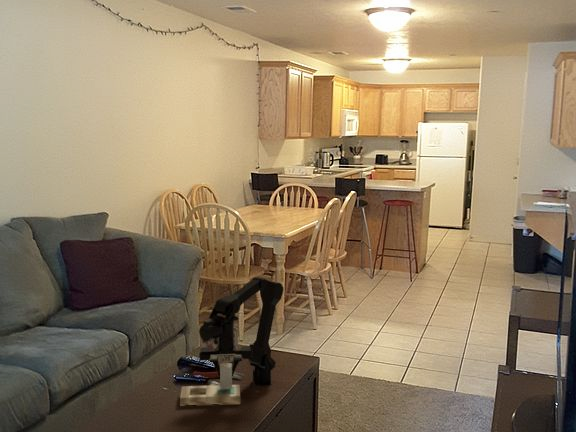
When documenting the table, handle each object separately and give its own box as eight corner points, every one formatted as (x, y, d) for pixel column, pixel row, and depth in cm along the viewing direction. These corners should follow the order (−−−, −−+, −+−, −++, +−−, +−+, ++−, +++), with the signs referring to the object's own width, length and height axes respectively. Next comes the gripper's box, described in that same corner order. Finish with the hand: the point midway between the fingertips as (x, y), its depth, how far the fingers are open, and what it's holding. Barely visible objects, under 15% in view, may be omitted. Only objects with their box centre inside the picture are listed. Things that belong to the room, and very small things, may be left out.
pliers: (238, 385, 235) (238, 378, 235) (191, 378, 241) (191, 371, 241) (249, 374, 246) (249, 368, 246) (204, 368, 252) (204, 362, 252)
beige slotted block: (239, 392, 227) (239, 384, 227) (240, 404, 217) (240, 395, 217) (182, 394, 225) (182, 385, 225) (180, 406, 215) (180, 397, 215)
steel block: (231, 384, 224) (231, 363, 223) (232, 389, 219) (231, 367, 218) (220, 384, 223) (220, 363, 222) (220, 389, 219) (220, 367, 218)
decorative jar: (238, 359, 261) (238, 318, 259) (221, 368, 251) (221, 325, 249) (216, 354, 267) (216, 313, 265) (199, 362, 257) (198, 320, 255)
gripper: (251, 326, 228) (251, 367, 230) (200, 327, 226) (200, 368, 228) (252, 336, 217) (252, 378, 219) (199, 337, 215) (199, 380, 217)
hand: (226, 376), depth 221 cm, fingers closed on steel block, 4 cm apart
